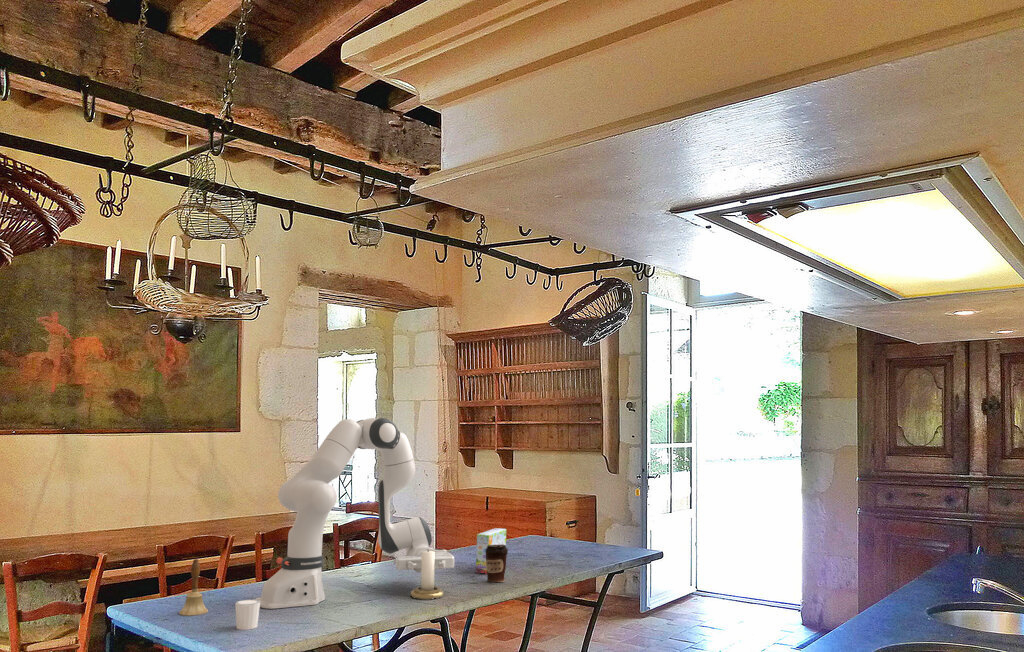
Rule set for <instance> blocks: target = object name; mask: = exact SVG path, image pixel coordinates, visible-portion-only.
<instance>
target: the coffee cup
mask: <svg viewBox="0 0 1024 652" xmlns="http://www.w3.org/2000/svg"><path fill="white" fill-rule="evenodd" d="M485 552H486V566H487V574H486V575H487V578H486V579H487V582H491V583H503V582H504V583H505V582H506V579H505V573H506V569H507V556H508V552H509V549H508V548H507V544H506V545H487V548H486V550H485Z"/></svg>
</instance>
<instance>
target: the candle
mask: <svg viewBox="0 0 1024 652" xmlns="http://www.w3.org/2000/svg"><path fill="white" fill-rule="evenodd" d="M434 563H435V552H434V551H429V549H428V551H423V552H422V561H421V573H420V587H421V590H426V591H430V590H434V586H435V570H434Z"/></svg>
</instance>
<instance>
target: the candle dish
mask: <svg viewBox="0 0 1024 652" xmlns="http://www.w3.org/2000/svg"><path fill="white" fill-rule="evenodd" d="M441 588H442V587H439V586H435V585H434V590H430V591H426V590H421V586H416V587H415V588H414V589H413V590H411V591H410V597H411V596H412V597H415V598H419V599H418V600H420V599H432V598H438V597H442V596H443V595H445V593H444V592H445V591H444V590H443V589H441ZM412 597H411V598H412ZM443 597H444V596H443ZM443 597H442V598H443ZM432 600H433V599H432Z"/></svg>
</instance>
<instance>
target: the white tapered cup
mask: <svg viewBox="0 0 1024 652" xmlns="http://www.w3.org/2000/svg"><path fill="white" fill-rule="evenodd" d="M234 605H235V607H234V608H235V625H236V627H235V628H236V630H241V631H244V630H245V631H246V630H253V629H256V628H257V627H258V623H259V616H260V615H259V614H260V608H261V607H260V601H259V600H255V599H243V600H242V599H241V600H237V601H236V602H235V604H234Z"/></svg>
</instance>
